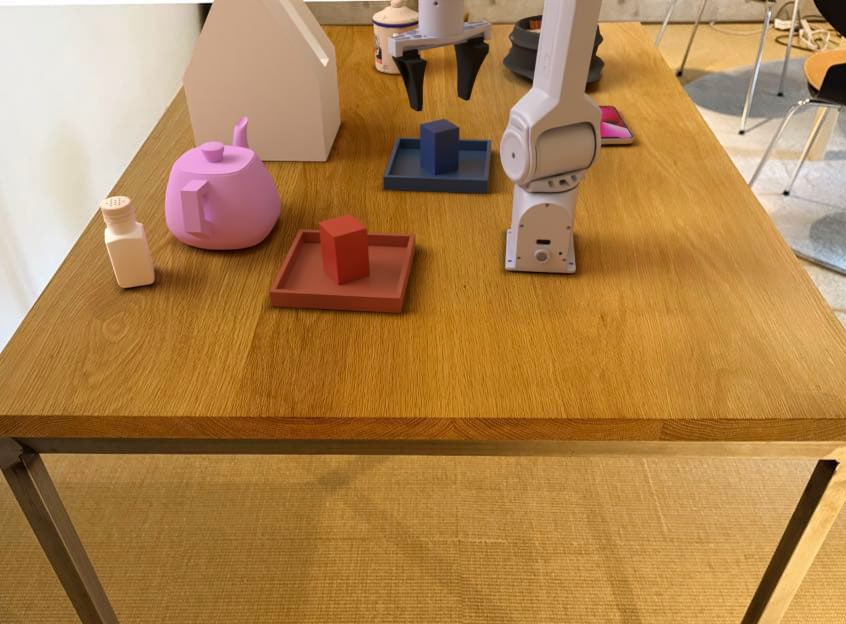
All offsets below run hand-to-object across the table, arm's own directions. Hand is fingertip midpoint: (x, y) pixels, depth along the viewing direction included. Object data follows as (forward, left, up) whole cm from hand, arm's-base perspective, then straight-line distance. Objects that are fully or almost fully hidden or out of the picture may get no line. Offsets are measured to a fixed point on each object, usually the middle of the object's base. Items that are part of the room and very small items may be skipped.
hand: (440, 103), depth 103 cm
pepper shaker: (-33, +32, -10) cm, 47 cm away
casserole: (+45, -17, -10) cm, 49 cm away
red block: (-30, +8, -9) cm, 32 cm away
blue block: (0, 0, -9) cm, 9 cm away
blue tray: (0, 0, -9) cm, 9 cm away
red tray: (-30, +8, -9) cm, 32 cm away
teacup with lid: (+45, +12, -10) cm, 48 cm away
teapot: (-20, +25, -10) cm, 33 cm away
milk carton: (+9, +27, -10) cm, 30 cm away
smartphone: (+18, -24, -9) cm, 31 cm away
